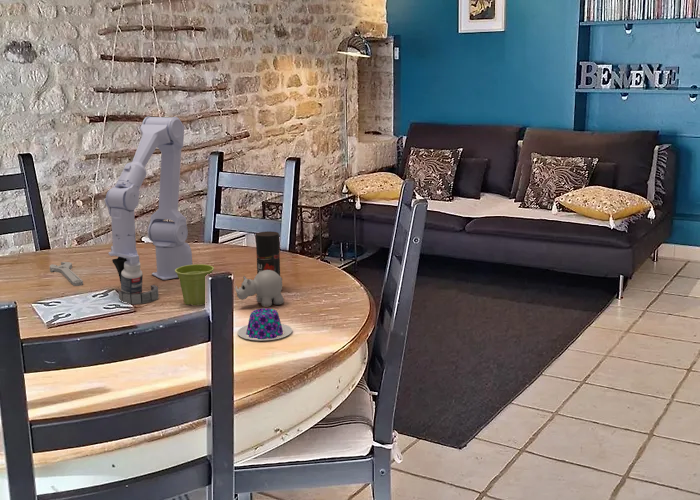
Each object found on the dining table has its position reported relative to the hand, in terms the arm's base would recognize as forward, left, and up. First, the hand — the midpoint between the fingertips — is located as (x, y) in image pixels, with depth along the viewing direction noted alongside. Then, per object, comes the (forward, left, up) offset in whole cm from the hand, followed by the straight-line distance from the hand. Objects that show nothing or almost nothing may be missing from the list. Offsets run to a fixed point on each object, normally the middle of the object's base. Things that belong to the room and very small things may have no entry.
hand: (126, 285), depth 205 cm
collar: (-1, +8, -2) cm, 8 cm away
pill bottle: (0, +2, -2) cm, 3 cm away
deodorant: (-31, +20, -2) cm, 37 cm away
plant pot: (-10, +19, -2) cm, 22 cm away
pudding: (-12, +49, -3) cm, 51 cm away
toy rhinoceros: (-22, +30, -2) cm, 37 cm away
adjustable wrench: (+7, -28, -3) cm, 29 cm away
